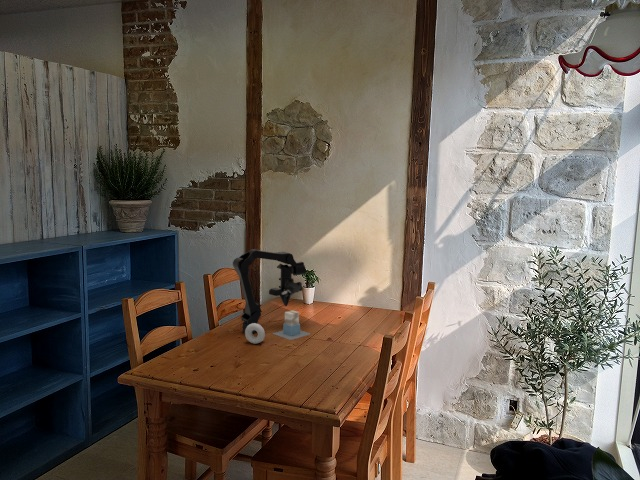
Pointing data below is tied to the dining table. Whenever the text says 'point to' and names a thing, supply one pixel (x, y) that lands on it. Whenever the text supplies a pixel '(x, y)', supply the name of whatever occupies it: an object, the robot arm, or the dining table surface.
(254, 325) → the donut
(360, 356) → the dining table surface
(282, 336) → the base mat
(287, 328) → the bottom brick
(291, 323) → the top brick
